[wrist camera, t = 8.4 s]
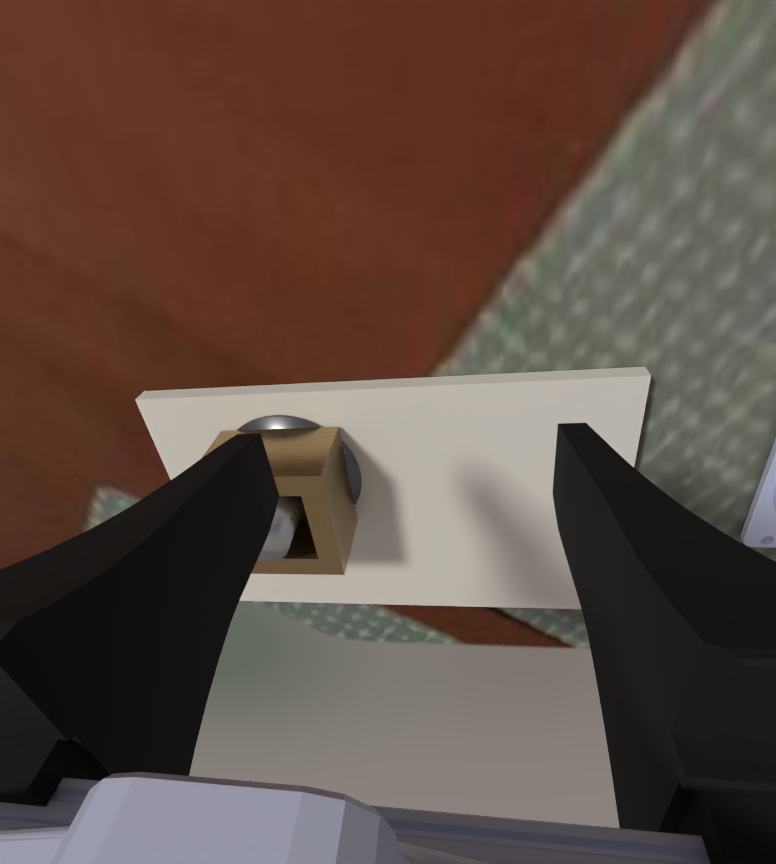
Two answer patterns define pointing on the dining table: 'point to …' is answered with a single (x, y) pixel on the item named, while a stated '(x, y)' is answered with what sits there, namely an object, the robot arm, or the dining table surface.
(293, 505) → the steel post
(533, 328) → the dining table surface
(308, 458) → the bronze collar
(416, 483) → the pale board
